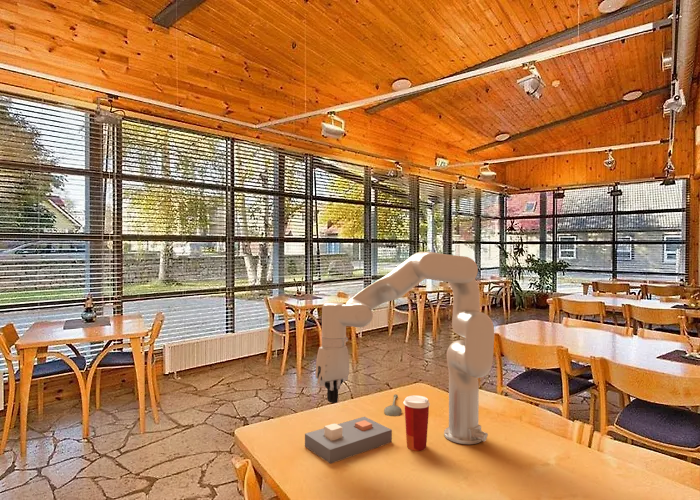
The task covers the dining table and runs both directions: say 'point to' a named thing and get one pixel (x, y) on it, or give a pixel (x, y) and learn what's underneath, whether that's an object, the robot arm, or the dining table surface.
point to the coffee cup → (416, 422)
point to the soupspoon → (393, 409)
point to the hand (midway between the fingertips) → (332, 401)
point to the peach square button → (363, 425)
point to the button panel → (348, 440)
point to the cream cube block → (333, 432)
